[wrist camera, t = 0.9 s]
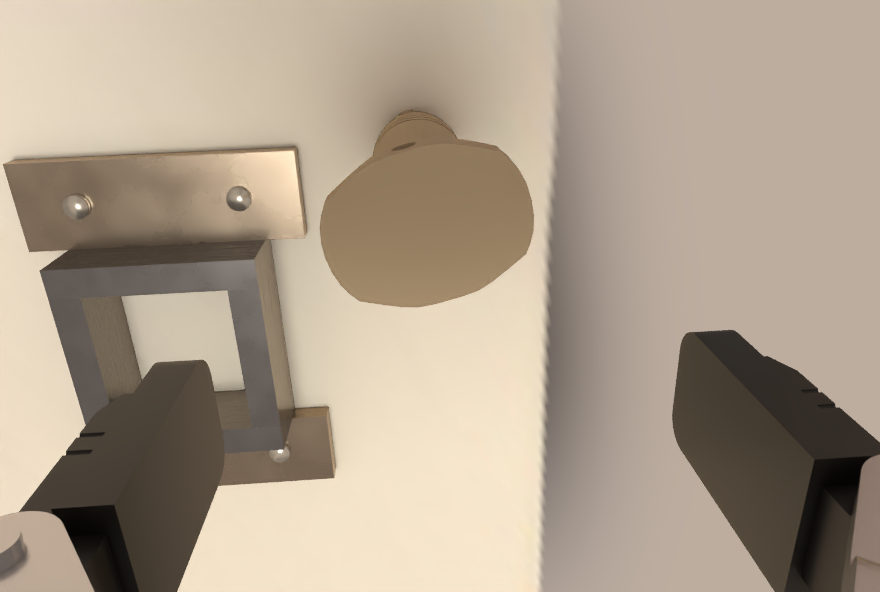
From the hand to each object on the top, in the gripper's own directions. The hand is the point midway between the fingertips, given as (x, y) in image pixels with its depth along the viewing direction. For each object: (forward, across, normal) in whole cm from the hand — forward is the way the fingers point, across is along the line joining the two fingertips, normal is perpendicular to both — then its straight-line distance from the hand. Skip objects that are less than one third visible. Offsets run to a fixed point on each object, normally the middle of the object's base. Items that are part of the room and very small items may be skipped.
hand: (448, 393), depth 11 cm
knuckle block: (+24, +13, +10) cm, 29 cm away
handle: (+24, 0, 0) cm, 24 cm away
